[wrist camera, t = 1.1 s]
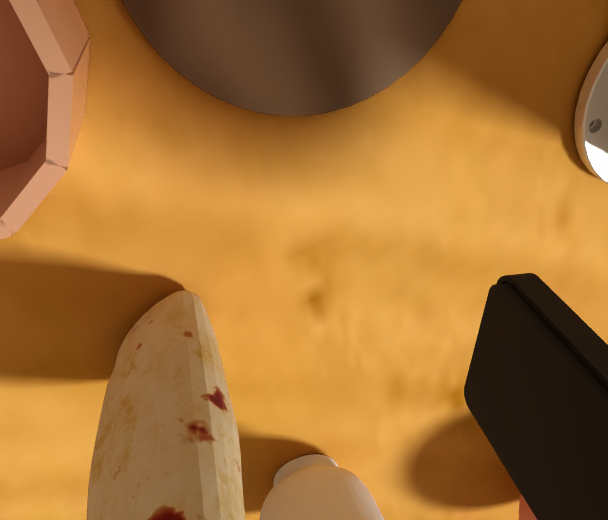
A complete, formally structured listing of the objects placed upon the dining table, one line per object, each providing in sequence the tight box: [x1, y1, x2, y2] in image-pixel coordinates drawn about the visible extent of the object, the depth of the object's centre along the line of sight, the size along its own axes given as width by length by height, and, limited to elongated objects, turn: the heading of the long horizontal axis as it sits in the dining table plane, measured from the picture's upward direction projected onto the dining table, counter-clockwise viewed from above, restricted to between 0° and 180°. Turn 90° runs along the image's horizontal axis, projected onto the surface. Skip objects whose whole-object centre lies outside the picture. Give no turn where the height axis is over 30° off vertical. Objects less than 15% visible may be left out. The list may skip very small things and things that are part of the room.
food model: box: [87, 290, 246, 520], centre depth 28 cm, size 10×7×20 cm
